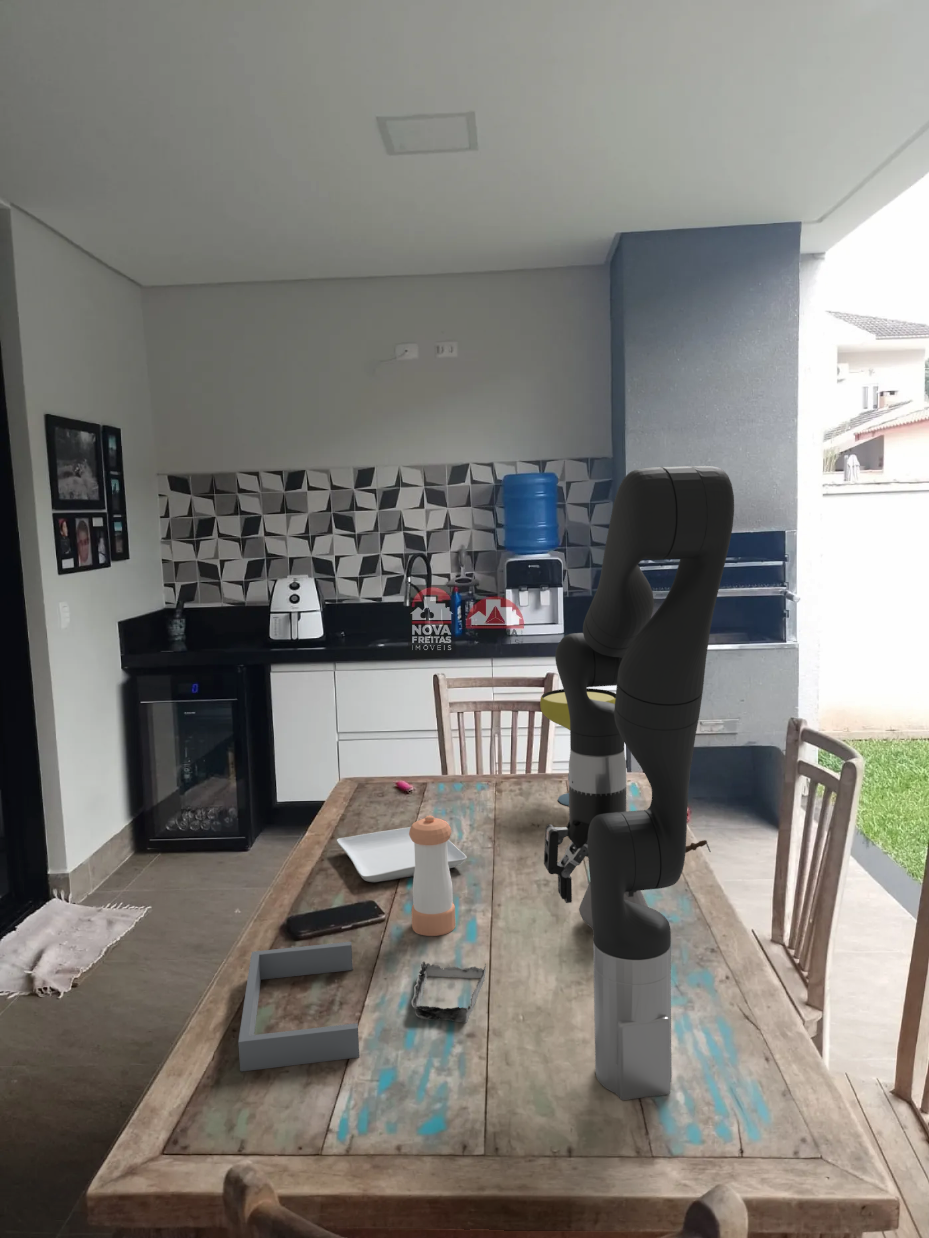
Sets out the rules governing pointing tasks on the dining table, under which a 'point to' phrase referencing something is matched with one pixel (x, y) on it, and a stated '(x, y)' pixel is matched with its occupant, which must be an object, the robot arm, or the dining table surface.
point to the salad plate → (388, 854)
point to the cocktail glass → (558, 712)
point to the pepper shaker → (432, 878)
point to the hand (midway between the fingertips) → (598, 897)
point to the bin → (294, 1043)
